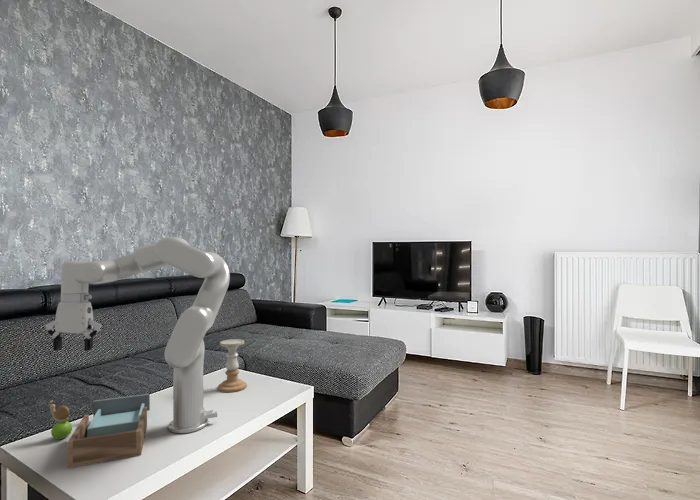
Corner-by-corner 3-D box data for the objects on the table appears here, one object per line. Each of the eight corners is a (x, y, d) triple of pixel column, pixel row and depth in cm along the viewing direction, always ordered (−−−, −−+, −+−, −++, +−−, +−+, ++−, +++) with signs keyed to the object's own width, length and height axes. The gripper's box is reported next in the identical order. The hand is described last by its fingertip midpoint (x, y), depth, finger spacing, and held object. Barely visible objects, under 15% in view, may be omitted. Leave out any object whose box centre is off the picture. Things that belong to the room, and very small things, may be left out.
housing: (84, 436, 129) (84, 415, 129) (147, 427, 136) (147, 406, 136) (67, 467, 110) (67, 442, 110) (140, 454, 117) (140, 430, 117)
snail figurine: (56, 434, 131) (56, 397, 131) (76, 434, 131) (76, 397, 131) (43, 442, 126) (43, 403, 126) (63, 442, 125) (63, 404, 125)
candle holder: (238, 381, 184) (238, 337, 184) (252, 388, 175) (251, 341, 175) (212, 387, 176) (212, 341, 176) (225, 394, 167) (225, 346, 167)
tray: (94, 416, 142) (94, 400, 142) (149, 409, 148) (149, 393, 148) (81, 440, 124) (81, 421, 124) (144, 430, 131) (144, 412, 131)
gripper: (107, 297, 137) (106, 347, 137) (55, 296, 136) (53, 347, 136) (95, 300, 130) (93, 353, 130) (39, 299, 129) (37, 352, 129)
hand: (73, 349), depth 133 cm, fingers open, 9 cm apart
